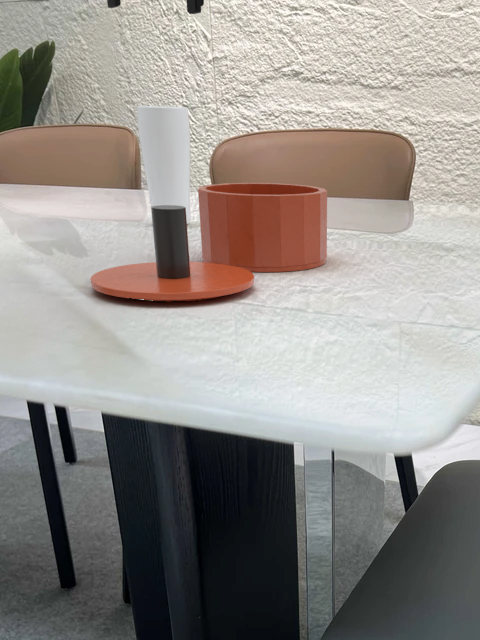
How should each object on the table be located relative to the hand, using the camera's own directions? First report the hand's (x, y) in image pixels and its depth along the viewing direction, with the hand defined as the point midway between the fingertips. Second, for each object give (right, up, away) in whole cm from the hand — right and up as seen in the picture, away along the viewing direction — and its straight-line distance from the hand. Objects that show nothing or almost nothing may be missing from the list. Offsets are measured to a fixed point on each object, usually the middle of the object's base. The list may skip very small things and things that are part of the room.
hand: (155, 10), depth 91 cm
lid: (+7, -38, -20) cm, 43 cm away
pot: (+14, -31, -5) cm, 35 cm away
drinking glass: (-3, -19, +18) cm, 27 cm away
